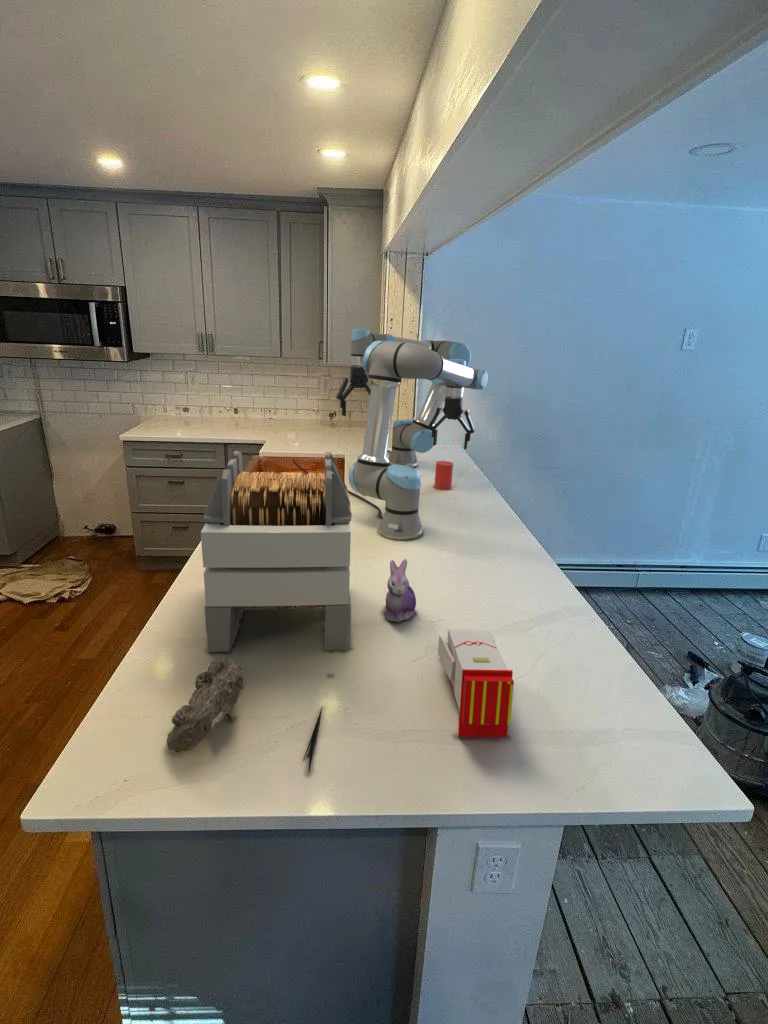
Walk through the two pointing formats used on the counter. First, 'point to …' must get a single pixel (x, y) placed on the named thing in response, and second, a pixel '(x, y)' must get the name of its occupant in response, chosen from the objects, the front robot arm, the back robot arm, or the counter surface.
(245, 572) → the grey boxy piece
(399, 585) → the figurine
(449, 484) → the can
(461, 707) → the toy
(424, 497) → the counter surface
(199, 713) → the fossil
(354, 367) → the back robot arm
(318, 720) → the feather
